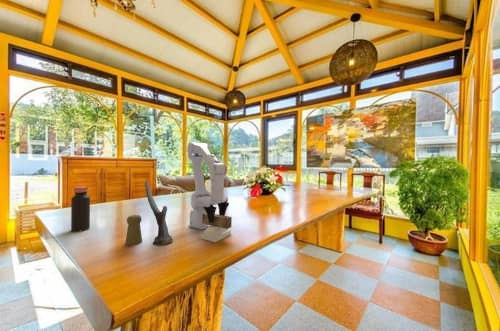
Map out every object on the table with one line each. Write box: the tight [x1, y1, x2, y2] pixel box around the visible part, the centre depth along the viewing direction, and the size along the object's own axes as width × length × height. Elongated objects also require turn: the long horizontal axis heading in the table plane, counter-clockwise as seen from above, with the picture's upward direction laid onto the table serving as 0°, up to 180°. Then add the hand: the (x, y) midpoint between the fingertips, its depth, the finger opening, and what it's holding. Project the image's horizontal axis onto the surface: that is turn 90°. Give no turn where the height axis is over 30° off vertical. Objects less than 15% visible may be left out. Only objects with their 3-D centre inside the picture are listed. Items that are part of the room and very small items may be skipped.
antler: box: [144, 180, 174, 246], centre depth 84 cm, size 12×8×25 cm
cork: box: [125, 214, 143, 246], centre depth 83 cm, size 6×6×11 cm
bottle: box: [70, 186, 91, 233], centre depth 96 cm, size 7×7×20 cm
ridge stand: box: [200, 226, 232, 243], centre depth 92 cm, size 8×11×5 cm
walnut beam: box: [202, 213, 233, 230], centre depth 92 cm, size 14×3×4 cm, turn 61°
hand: (216, 220), depth 92 cm, fingers open, 7 cm apart
